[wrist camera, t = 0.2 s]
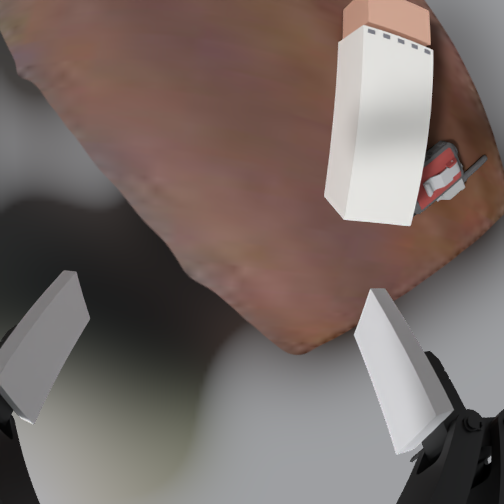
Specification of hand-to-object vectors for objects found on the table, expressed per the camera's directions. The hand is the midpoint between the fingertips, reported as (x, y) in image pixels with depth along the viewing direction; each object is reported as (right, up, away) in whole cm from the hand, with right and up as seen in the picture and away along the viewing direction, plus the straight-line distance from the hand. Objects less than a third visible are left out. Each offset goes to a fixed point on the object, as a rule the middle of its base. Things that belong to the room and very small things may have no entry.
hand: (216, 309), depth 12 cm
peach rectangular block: (+17, +32, +15) cm, 39 cm away
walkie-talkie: (+31, +16, +24) cm, 42 cm away
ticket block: (+17, +20, +21) cm, 33 cm away
